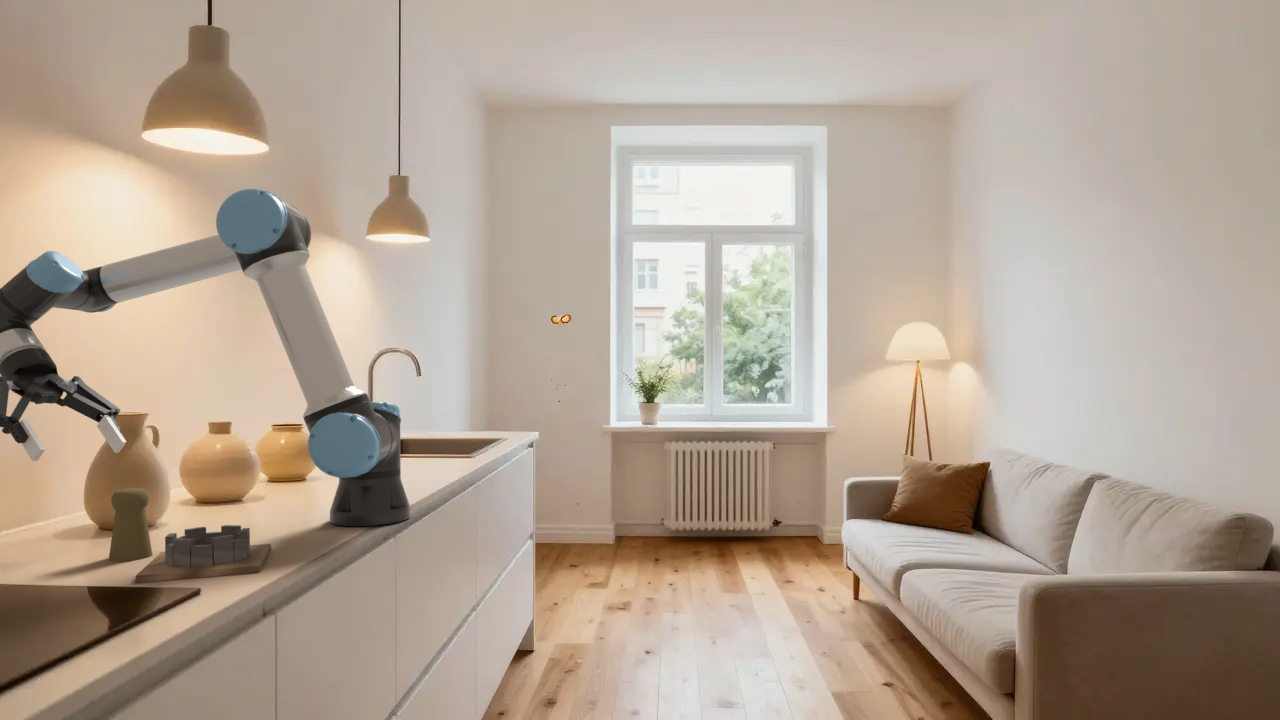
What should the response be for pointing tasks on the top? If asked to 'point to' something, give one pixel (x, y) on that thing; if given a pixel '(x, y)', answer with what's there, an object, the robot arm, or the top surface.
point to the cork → (130, 526)
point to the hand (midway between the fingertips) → (82, 451)
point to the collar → (206, 555)
